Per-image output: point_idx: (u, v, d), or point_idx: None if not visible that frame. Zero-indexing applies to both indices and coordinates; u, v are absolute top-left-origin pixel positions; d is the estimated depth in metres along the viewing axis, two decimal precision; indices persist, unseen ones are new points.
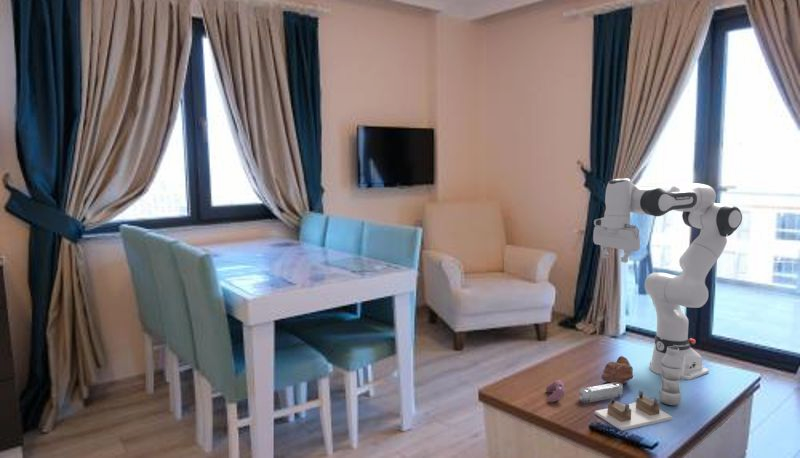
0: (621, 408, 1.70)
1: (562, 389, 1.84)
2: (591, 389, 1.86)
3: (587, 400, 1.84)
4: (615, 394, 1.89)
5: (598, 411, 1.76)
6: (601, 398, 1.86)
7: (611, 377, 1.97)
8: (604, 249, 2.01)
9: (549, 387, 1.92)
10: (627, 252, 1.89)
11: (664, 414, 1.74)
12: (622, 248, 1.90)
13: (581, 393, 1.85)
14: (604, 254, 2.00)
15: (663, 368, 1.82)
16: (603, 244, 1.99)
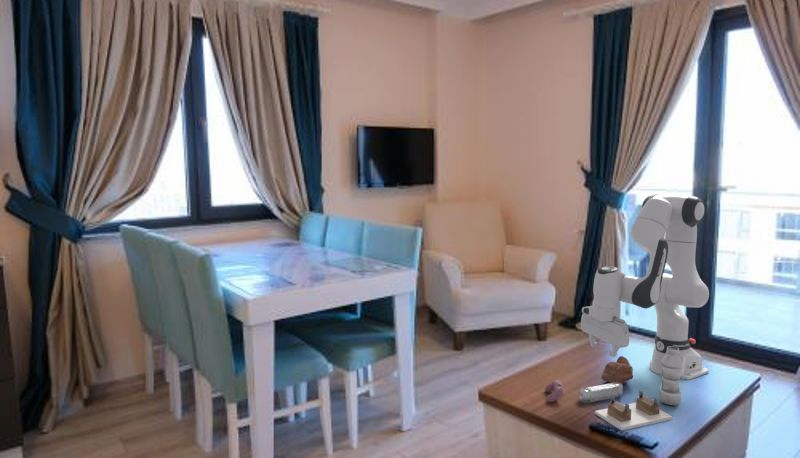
0: (621, 408, 1.70)
1: (561, 389, 1.84)
2: (591, 389, 1.86)
3: (587, 400, 1.84)
4: (615, 394, 1.89)
5: (598, 411, 1.76)
6: (601, 398, 1.86)
7: (611, 377, 1.97)
8: (592, 338, 1.91)
9: (548, 387, 1.92)
10: (616, 347, 1.79)
11: (664, 414, 1.74)
12: (610, 342, 1.80)
13: (581, 393, 1.85)
14: (592, 344, 1.90)
15: (663, 368, 1.82)
16: (591, 334, 1.89)
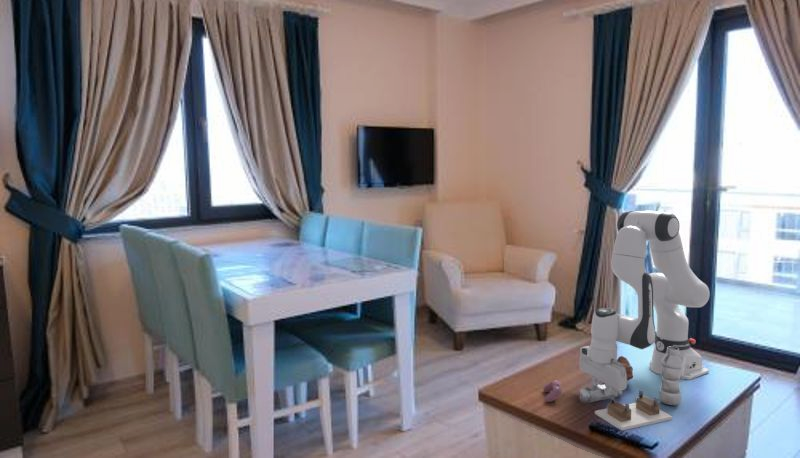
0: (621, 408, 1.70)
1: (559, 389, 1.85)
2: (591, 389, 1.86)
3: (587, 400, 1.84)
4: (615, 394, 1.89)
5: (598, 411, 1.76)
6: (601, 398, 1.86)
7: None
8: (595, 380, 1.91)
9: (546, 387, 1.93)
10: (608, 386, 1.84)
11: (664, 414, 1.74)
12: (608, 384, 1.82)
13: (581, 393, 1.85)
14: None
15: (663, 368, 1.82)
16: (589, 374, 1.91)
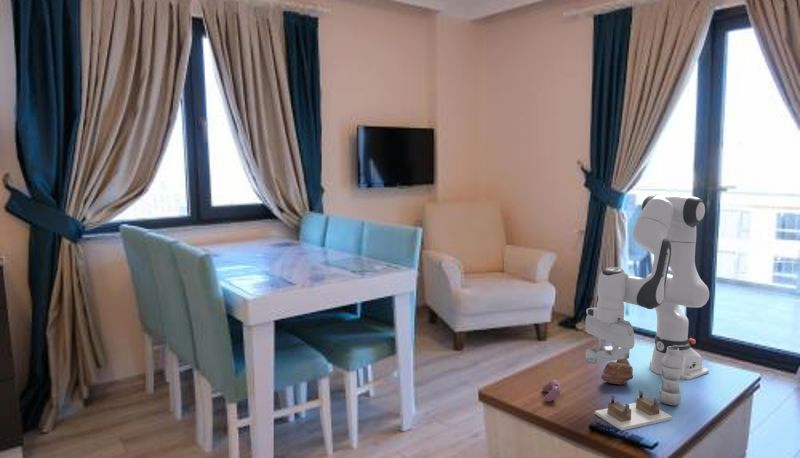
0: (621, 408, 1.70)
1: (558, 389, 1.85)
2: (597, 350, 1.82)
3: (593, 360, 1.80)
4: (622, 355, 1.84)
5: (598, 411, 1.76)
6: (607, 359, 1.82)
7: (611, 377, 1.97)
8: (602, 342, 1.86)
9: (545, 387, 1.93)
10: (615, 346, 1.80)
11: (664, 414, 1.74)
12: (615, 344, 1.78)
13: (587, 353, 1.81)
14: None
15: (663, 368, 1.82)
16: (596, 335, 1.87)
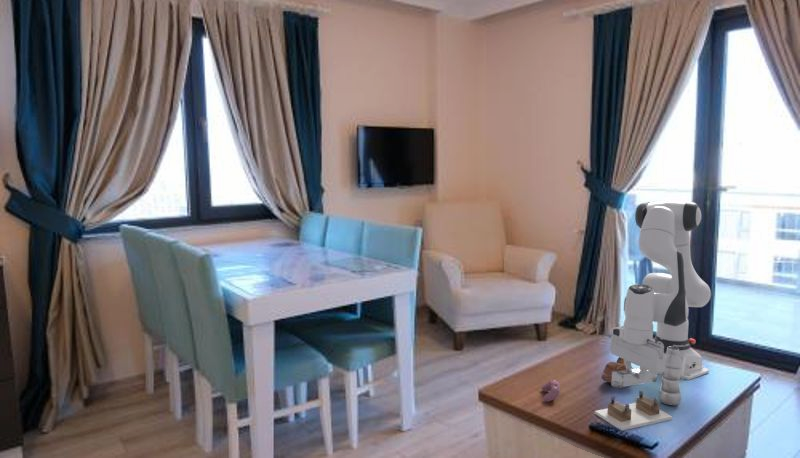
0: (621, 408, 1.70)
1: (557, 389, 1.85)
2: (624, 373, 1.70)
3: (620, 384, 1.69)
4: (649, 379, 1.73)
5: (598, 411, 1.76)
6: (635, 383, 1.71)
7: (611, 377, 1.97)
8: (628, 364, 1.75)
9: (545, 387, 1.93)
10: (644, 369, 1.68)
11: (664, 414, 1.74)
12: (644, 367, 1.66)
13: (613, 377, 1.69)
14: None
15: None
16: (621, 357, 1.75)
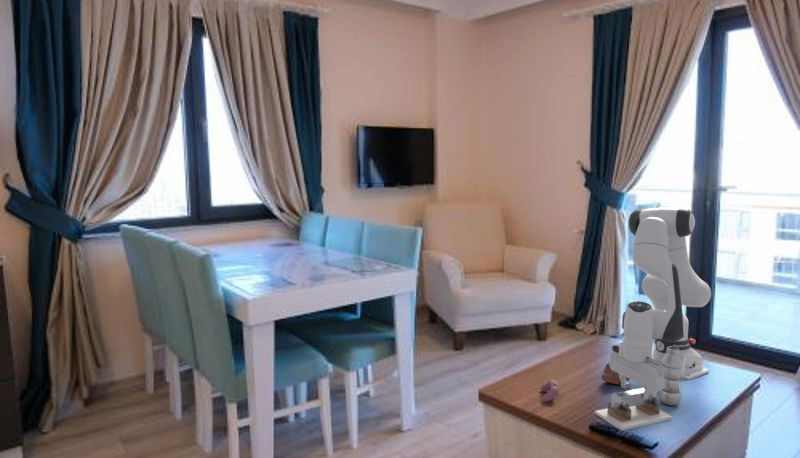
0: None
1: (557, 388, 1.85)
2: (623, 394, 1.71)
3: (619, 406, 1.70)
4: (649, 399, 1.74)
5: (598, 411, 1.76)
6: (634, 404, 1.72)
7: (611, 377, 1.97)
8: (623, 378, 1.78)
9: (544, 387, 1.93)
10: (648, 389, 1.67)
11: (664, 414, 1.74)
12: (644, 385, 1.67)
13: (613, 398, 1.70)
14: (623, 384, 1.77)
15: (663, 368, 1.82)
16: (621, 373, 1.76)
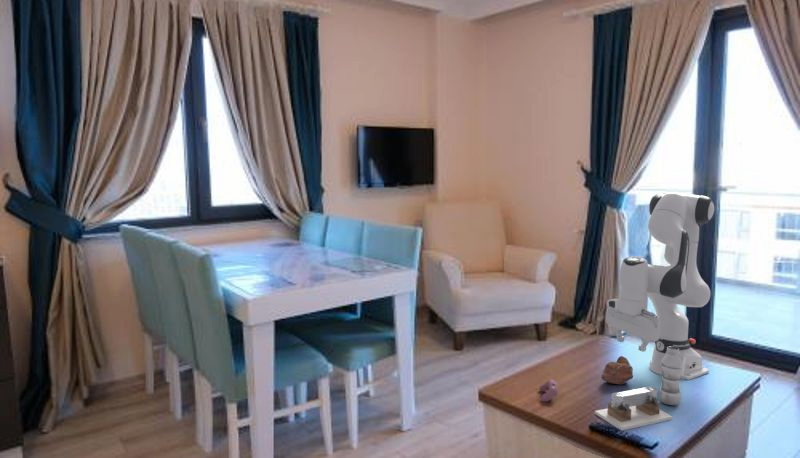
0: None
1: (555, 388, 1.85)
2: (623, 394, 1.71)
3: (619, 406, 1.70)
4: (649, 399, 1.74)
5: (598, 411, 1.76)
6: (634, 404, 1.72)
7: (611, 377, 1.97)
8: (619, 332, 1.82)
9: (542, 386, 1.93)
10: (645, 341, 1.71)
11: (664, 414, 1.74)
12: (640, 336, 1.71)
13: (613, 398, 1.70)
14: (619, 338, 1.81)
15: (663, 368, 1.82)
16: (618, 328, 1.80)
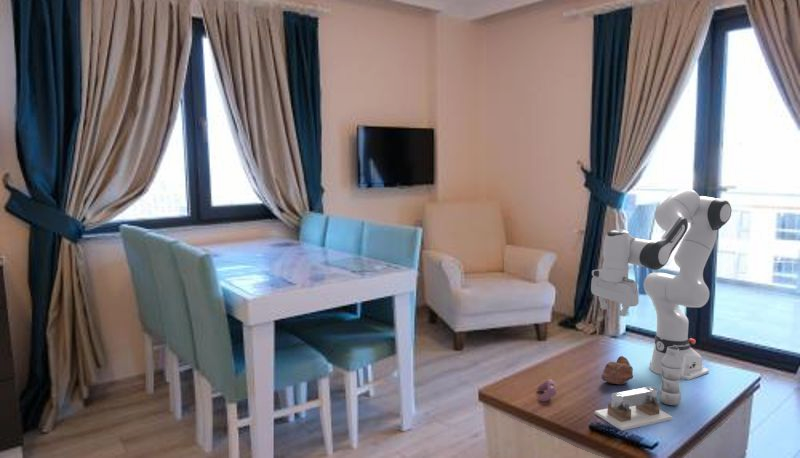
0: None
1: (554, 388, 1.85)
2: (623, 394, 1.71)
3: (619, 406, 1.70)
4: (649, 399, 1.74)
5: (598, 411, 1.76)
6: (634, 404, 1.72)
7: (611, 377, 1.97)
8: (602, 300, 1.97)
9: (541, 386, 1.93)
10: (625, 306, 1.85)
11: (664, 414, 1.74)
12: (620, 302, 1.86)
13: (613, 398, 1.70)
14: (602, 305, 1.96)
15: (663, 368, 1.82)
16: (601, 295, 1.95)
